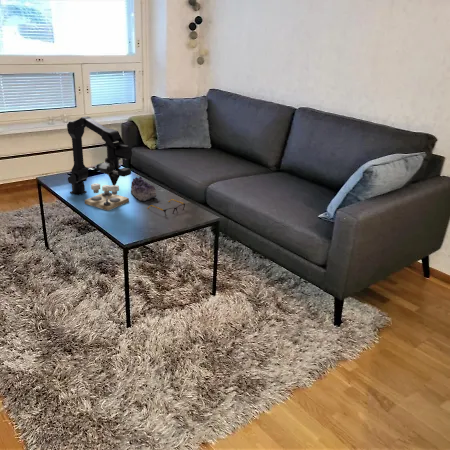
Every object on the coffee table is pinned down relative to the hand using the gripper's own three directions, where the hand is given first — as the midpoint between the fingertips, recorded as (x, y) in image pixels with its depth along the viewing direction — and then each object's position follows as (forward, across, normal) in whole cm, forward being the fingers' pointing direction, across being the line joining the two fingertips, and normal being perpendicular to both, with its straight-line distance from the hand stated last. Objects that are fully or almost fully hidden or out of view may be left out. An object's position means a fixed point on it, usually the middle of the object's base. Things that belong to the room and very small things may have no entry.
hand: (114, 185), depth 236 cm
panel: (+10, -4, -1) cm, 11 cm away
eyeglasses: (+11, +26, +10) cm, 30 cm away
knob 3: (+5, 0, 0) cm, 5 cm away
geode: (+11, +3, +18) cm, 21 cm away
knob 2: (+8, -9, +4) cm, 13 cm away
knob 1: (+5, -9, -4) cm, 11 cm away
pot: (+8, +1, -7) cm, 11 cm away
